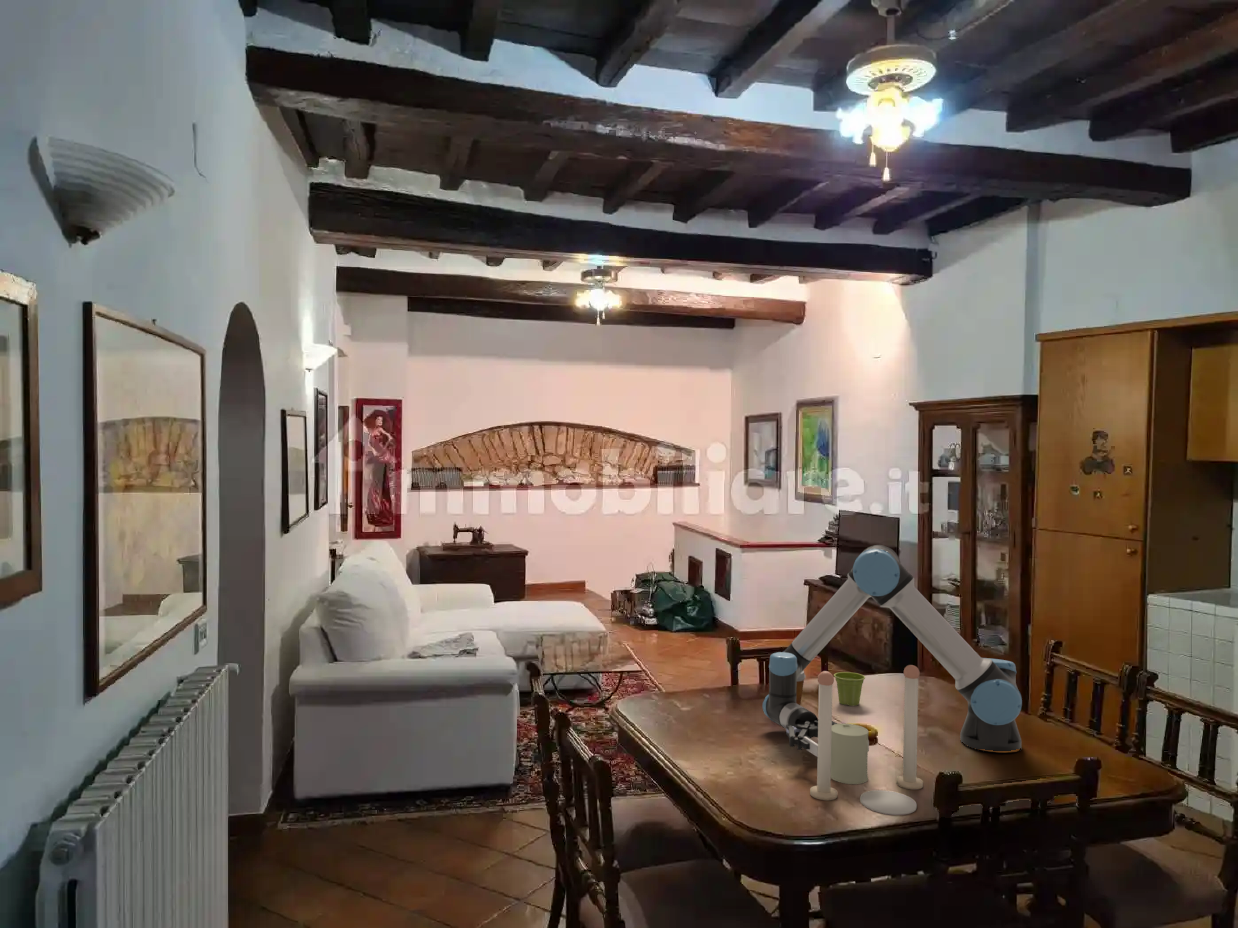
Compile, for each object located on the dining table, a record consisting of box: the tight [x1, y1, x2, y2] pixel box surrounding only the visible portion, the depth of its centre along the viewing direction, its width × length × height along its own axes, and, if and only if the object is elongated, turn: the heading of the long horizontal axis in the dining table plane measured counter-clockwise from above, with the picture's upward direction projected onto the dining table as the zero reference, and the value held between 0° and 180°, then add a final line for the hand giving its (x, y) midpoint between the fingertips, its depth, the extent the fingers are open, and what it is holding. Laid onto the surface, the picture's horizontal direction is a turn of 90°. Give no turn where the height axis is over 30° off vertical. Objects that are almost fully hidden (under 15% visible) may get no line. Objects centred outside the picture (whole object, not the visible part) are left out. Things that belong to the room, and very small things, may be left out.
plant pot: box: [833, 671, 866, 707], centre depth 265 cm, size 9×9×9 cm
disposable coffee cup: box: [796, 670, 807, 706], centre depth 257 cm, size 10×10×12 cm
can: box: [831, 723, 869, 785], centre depth 205 cm, size 9×9×12 cm
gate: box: [809, 664, 924, 801], centre depth 197 cm, size 29×6×28 cm, turn 107°
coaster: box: [859, 789, 917, 816], centre depth 189 cm, size 12×12×1 cm
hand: (843, 748), depth 206 cm, fingers open, 13 cm apart
